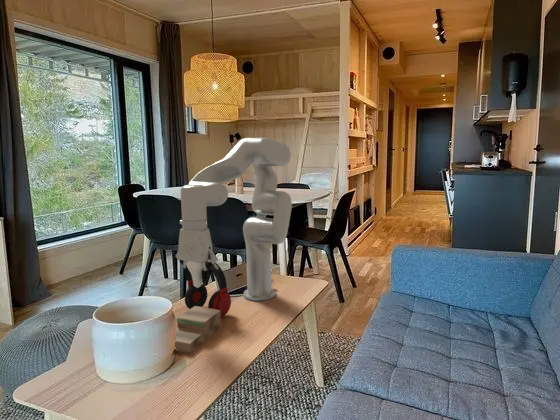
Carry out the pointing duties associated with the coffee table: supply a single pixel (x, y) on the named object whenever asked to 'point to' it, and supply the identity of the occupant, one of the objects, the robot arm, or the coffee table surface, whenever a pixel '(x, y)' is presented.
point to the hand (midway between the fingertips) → (197, 279)
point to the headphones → (199, 295)
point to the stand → (196, 327)
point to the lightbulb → (195, 272)
